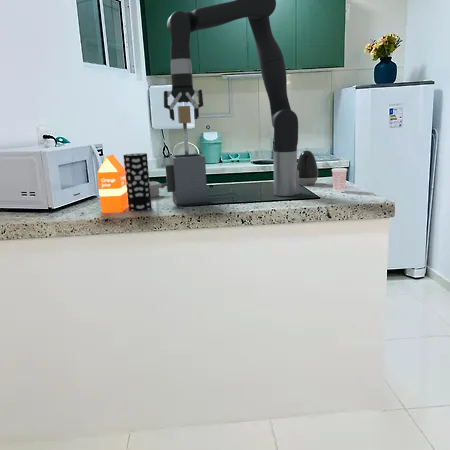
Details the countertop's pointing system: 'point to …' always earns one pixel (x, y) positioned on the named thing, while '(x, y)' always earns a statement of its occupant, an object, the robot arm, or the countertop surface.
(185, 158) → the tall grey box
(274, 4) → the robot arm
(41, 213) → the countertop surface
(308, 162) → the dark grey egg shape
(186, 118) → the plunger
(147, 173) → the spotted tube
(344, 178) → the beverage cup
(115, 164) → the orange juice
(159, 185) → the saucepan
